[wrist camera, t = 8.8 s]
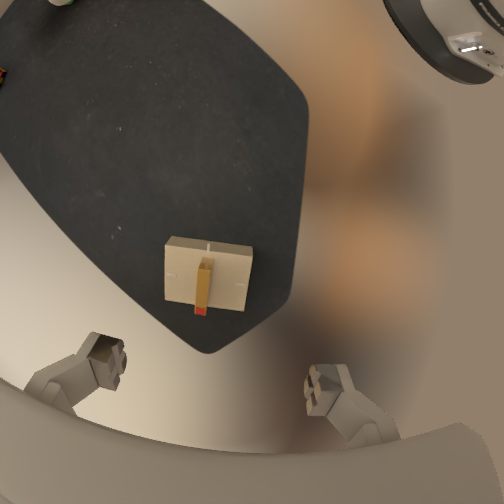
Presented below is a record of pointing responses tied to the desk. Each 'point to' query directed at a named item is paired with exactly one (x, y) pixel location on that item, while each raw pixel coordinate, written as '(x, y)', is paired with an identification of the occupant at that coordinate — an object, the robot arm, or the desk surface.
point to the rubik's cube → (2, 74)
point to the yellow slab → (203, 285)
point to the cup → (61, 2)
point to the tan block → (223, 274)
